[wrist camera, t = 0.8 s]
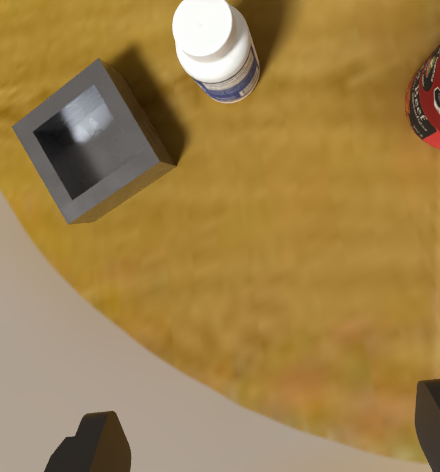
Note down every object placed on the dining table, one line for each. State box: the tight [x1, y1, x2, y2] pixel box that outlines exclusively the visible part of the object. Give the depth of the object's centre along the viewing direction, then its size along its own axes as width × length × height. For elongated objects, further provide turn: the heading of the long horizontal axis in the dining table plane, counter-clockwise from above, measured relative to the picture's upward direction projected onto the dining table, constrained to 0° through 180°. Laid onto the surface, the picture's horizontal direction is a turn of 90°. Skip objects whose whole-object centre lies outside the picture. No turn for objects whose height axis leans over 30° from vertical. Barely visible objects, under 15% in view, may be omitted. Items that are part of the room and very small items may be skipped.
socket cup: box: [12, 58, 176, 224], centre depth 35 cm, size 10×10×4 cm
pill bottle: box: [172, 0, 260, 103], centre depth 29 cm, size 5×5×10 cm
